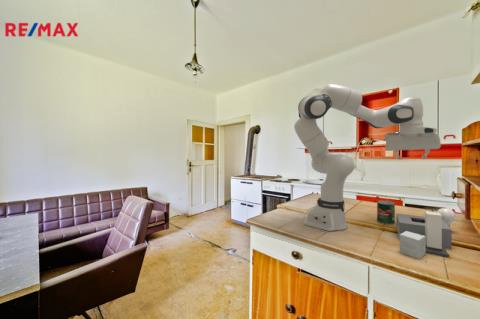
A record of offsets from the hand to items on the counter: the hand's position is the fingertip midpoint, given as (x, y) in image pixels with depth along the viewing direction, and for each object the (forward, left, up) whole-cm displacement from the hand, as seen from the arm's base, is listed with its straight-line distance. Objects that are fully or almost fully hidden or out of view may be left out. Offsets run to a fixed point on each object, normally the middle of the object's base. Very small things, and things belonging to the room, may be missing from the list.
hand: (411, 159), depth 95 cm
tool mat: (+4, -23, -35) cm, 42 cm away
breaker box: (+2, -11, -35) cm, 37 cm away
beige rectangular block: (+4, -22, -34) cm, 41 cm away
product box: (-3, -29, -36) cm, 46 cm away
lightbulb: (+13, +4, -35) cm, 38 cm away
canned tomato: (-10, +5, -35) cm, 37 cm away
